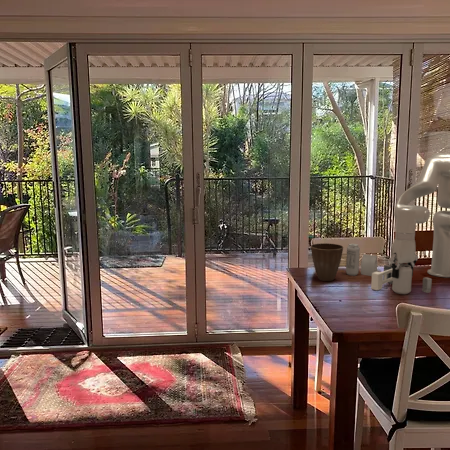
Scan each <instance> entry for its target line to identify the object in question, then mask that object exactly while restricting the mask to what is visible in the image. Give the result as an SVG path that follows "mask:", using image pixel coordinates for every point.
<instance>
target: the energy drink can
mask: <svg viewBox="0 0 450 450" xmlns="http://www.w3.org/2000/svg"><path fill="white" fill-rule="evenodd" d="M360 252H361V251H360V246H359V244H358V243H349V244H348V245H347V247H346V260H345V261H346V262H345V264H346V265H345V273H346V275H347V276H357V275H358V274H359V273H360V272H359V271H360Z"/></svg>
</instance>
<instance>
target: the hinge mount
mask: <svg viewBox="0 0 450 450" xmlns="http://www.w3.org/2000/svg"><path fill="white" fill-rule="evenodd" d="M389 269H391V266H390V264H384V265H383V271H386V270H389ZM388 278H391V273H388V274H387V279H388ZM383 280H384V275H383ZM388 284H390V285H393V281H390V282H388Z"/></svg>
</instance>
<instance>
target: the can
mask: <svg viewBox="0 0 450 450" xmlns="http://www.w3.org/2000/svg"><path fill="white" fill-rule="evenodd" d="M396 265H397V264H396ZM398 269H399V278H398V279H396V278H393V284H391V285H392V287H391V289H392V291H393V292H394V293H395V294H398V295H399V294H400V295H407V294H409V293H411V291H412V281H413V280H412V278H413V276H412V269H411V266H410V265H407V263H402V264H400V266H399V268H398Z"/></svg>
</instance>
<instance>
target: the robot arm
mask: <svg viewBox="0 0 450 450" xmlns="http://www.w3.org/2000/svg"><path fill="white" fill-rule="evenodd" d="M436 191H437V205H438V206H439V207H440V208H441V209H442V208H443V209H450V152H440V153H439V152H438V153H434V154H432V155H431V156H430V157H428V158H427V159H426V160H425V162H424V164H423V166H422V169H421V171H420V174H419V176H418V179H417V180H416V182H415V184H414V185H412V186H411V187H409V188H408V189H406V190H405V191H404V192H403V193H402V194H401V195H399V197H398V199H397V201H396V204H395V207H394V209H393V216H394V219H395V220H396V222H395V223H396V225H395V237H394V239H393V242H392V244H391V245H392V246H391V251H390V258H388V259H387V262H388V263H389V264H388V265H390V266H391V268H392V277H393V278H396V279H398V278H399V269H398V268H399V266H400V264H407V265H410V266H411V269H412V277H413V276H414V267H415V265H416V263H417V261H418V259H419V256H418V255H417V252H416V247H417V245H416V240H415V237H416V224H420V225H421V224H425V223H426V222H427V221H429V219H430V216H431V212H430V210H429V208H428V207H425V206H422V205H413V204H410V203H411V202H412V201H414V200H416V199H418V198H423V197H425V196H428V195H431V194H433V193H435V192H436ZM432 227H433V241H432V253H431V255H432V256H431V265H430V266H431V268H430V269H427V274H429V275H431V276H433V277H439V278H450V210H439V211H436V212H435V213H434V214H433V217H432ZM396 264H397V265H396Z"/></svg>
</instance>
